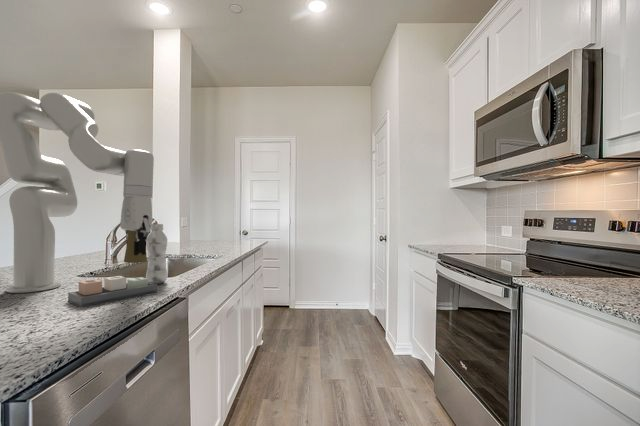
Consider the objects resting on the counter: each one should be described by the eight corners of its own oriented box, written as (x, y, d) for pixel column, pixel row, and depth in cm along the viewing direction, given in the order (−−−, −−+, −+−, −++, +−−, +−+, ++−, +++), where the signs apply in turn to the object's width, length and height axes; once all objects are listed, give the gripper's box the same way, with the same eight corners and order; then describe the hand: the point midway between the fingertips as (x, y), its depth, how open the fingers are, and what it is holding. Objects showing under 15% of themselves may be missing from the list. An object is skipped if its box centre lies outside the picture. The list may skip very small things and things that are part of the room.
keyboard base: (68, 302, 84) (68, 292, 84) (142, 288, 99) (142, 280, 99) (81, 308, 79) (81, 298, 79) (157, 293, 94) (157, 284, 94)
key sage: (127, 289, 94) (127, 278, 94) (141, 287, 97) (141, 276, 97) (133, 291, 91) (133, 280, 91) (147, 288, 94) (148, 278, 94)
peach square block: (78, 292, 84) (78, 281, 84) (96, 290, 87) (96, 278, 87) (84, 295, 81) (84, 283, 81) (102, 292, 85) (102, 280, 85)
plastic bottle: (144, 286, 102) (144, 224, 102) (147, 282, 108) (147, 224, 108) (166, 285, 104) (166, 224, 104) (168, 281, 110) (168, 223, 110)
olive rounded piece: (136, 263, 90) (137, 224, 90) (118, 261, 92) (119, 224, 92) (151, 260, 96) (153, 224, 96) (134, 259, 98) (135, 223, 98)
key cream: (104, 288, 89) (104, 277, 89) (119, 286, 92) (120, 275, 92) (110, 290, 86) (110, 279, 86) (126, 288, 90) (126, 277, 90)
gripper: (111, 191, 96) (109, 252, 96) (138, 191, 86) (136, 258, 86) (137, 193, 102) (135, 250, 102) (165, 193, 92) (163, 256, 92)
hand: (136, 253), depth 94 cm, fingers closed on olive rounded piece, 4 cm apart
